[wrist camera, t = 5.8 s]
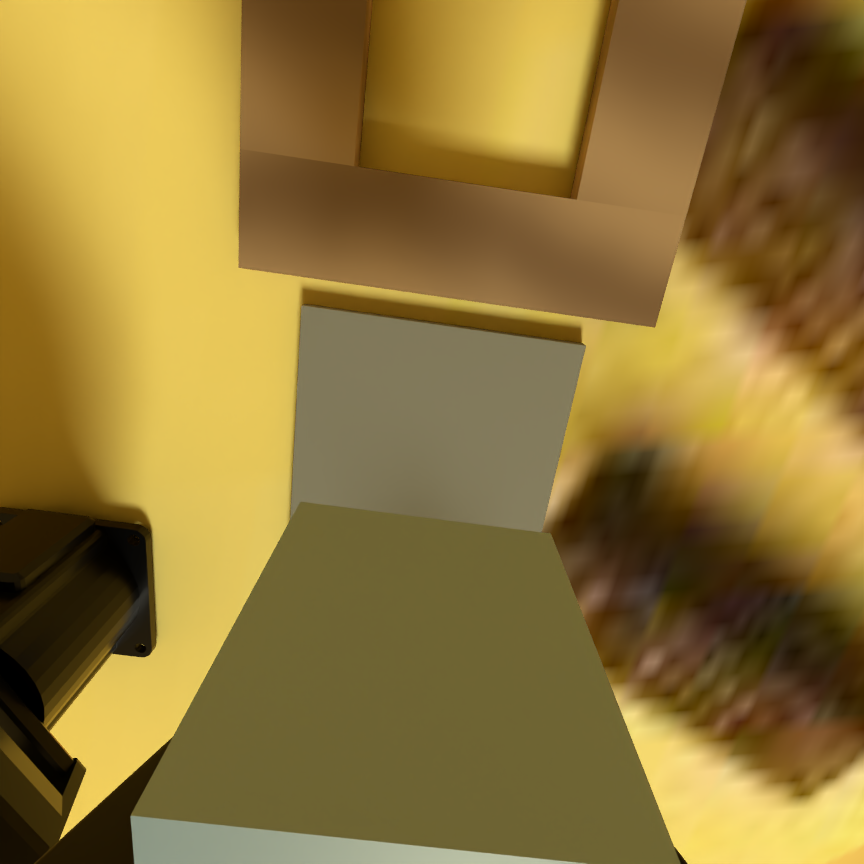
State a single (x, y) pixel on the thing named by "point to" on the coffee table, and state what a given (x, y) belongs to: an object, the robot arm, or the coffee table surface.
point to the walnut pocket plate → (469, 203)
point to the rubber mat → (429, 418)
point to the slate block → (403, 712)
